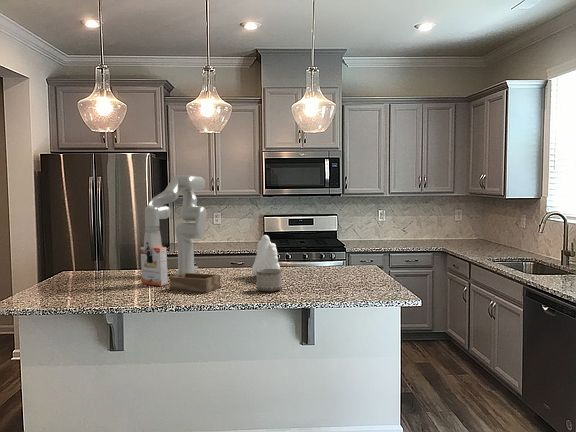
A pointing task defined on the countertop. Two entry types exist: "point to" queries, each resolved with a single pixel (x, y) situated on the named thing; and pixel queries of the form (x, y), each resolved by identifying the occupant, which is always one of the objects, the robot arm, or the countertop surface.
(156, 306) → the countertop surface
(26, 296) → the countertop surface
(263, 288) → the planter
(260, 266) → the white fluffy lump
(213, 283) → the walnut crate
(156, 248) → the cracker box
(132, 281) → the countertop surface
